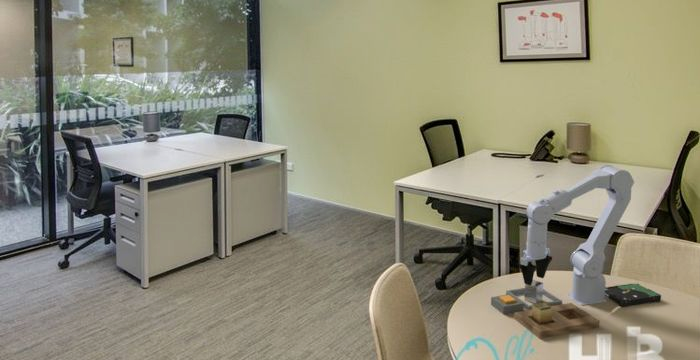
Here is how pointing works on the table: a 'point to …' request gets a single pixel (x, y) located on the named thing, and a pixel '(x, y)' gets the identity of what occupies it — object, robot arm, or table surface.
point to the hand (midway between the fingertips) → (534, 280)
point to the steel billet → (534, 292)
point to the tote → (529, 307)
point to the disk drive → (631, 295)
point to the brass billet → (542, 313)
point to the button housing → (507, 305)
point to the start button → (507, 299)
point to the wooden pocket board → (559, 321)
